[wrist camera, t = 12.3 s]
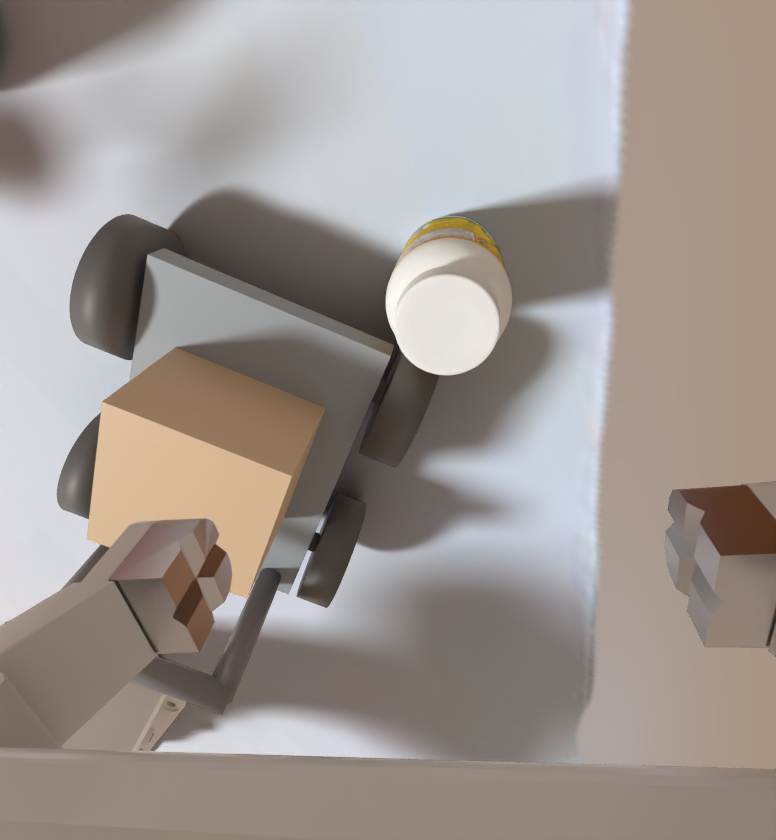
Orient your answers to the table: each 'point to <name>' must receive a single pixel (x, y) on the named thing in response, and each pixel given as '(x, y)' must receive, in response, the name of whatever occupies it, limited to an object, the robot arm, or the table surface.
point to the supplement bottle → (449, 296)
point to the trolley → (227, 427)
